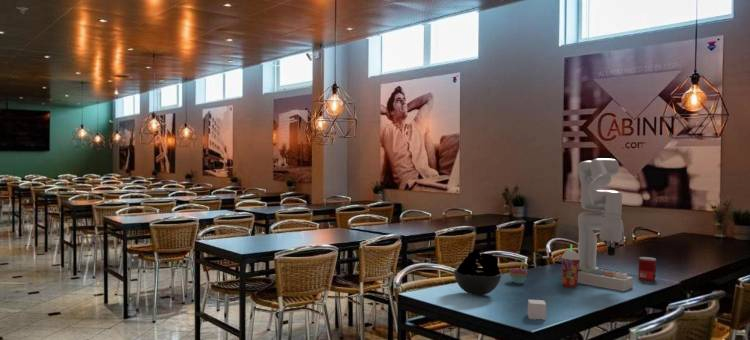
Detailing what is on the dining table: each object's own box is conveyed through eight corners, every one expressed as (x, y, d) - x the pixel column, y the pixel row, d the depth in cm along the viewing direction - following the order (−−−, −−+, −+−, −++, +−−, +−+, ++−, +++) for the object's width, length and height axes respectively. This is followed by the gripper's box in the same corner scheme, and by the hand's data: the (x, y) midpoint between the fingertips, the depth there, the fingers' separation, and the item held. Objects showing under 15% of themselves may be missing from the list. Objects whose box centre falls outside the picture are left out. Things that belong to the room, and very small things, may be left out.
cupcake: (528, 282, 285) (529, 257, 285) (525, 285, 278) (526, 260, 277) (510, 279, 289) (511, 255, 289) (507, 283, 281) (508, 258, 281)
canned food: (657, 281, 298) (658, 259, 298) (640, 280, 299) (641, 258, 299) (653, 278, 305) (654, 257, 305) (636, 277, 307) (637, 256, 307)
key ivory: (615, 281, 279) (615, 272, 279) (618, 280, 282) (619, 271, 282) (623, 283, 276) (624, 274, 276) (627, 281, 279) (627, 273, 279)
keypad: (576, 282, 289) (576, 272, 288) (585, 279, 296) (586, 269, 296) (623, 291, 273) (624, 280, 272) (632, 287, 281) (633, 277, 280)
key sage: (582, 275, 290) (582, 267, 290) (585, 274, 293) (586, 266, 293) (590, 277, 287) (590, 268, 287) (593, 276, 290) (594, 267, 290)
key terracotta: (604, 279, 283) (604, 270, 282) (607, 278, 285) (607, 270, 285) (612, 281, 280) (612, 272, 280) (615, 280, 283) (616, 271, 283)
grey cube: (545, 320, 218) (546, 304, 218) (529, 319, 219) (529, 303, 219) (543, 316, 224) (544, 300, 224) (527, 314, 225) (527, 299, 225)
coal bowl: (490, 303, 241) (492, 257, 240) (445, 295, 251) (447, 251, 251) (506, 294, 258) (508, 251, 257) (464, 287, 268) (466, 246, 268)
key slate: (593, 277, 286) (593, 269, 286) (596, 276, 289) (596, 268, 289) (601, 279, 284) (601, 270, 283) (604, 278, 286) (604, 269, 286)
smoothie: (578, 285, 281) (580, 243, 281) (578, 289, 274) (580, 246, 273) (560, 283, 284) (562, 242, 284) (560, 287, 276) (561, 244, 276)
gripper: (594, 216, 284) (592, 254, 284) (625, 219, 274) (623, 258, 274) (600, 215, 290) (599, 252, 290) (631, 218, 279) (630, 256, 279)
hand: (611, 255), depth 282 cm, fingers closed
